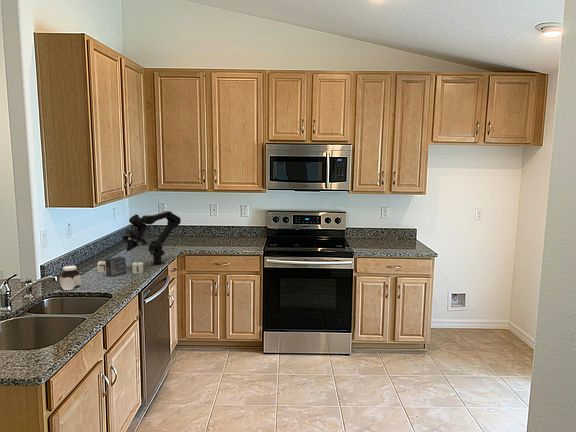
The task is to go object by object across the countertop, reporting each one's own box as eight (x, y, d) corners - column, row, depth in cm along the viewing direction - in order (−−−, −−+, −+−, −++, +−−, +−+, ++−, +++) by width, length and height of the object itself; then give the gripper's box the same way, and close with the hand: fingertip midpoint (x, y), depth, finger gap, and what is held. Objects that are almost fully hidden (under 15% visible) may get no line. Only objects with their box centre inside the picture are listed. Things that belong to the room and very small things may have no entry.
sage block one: (133, 271, 289) (133, 262, 289) (143, 271, 291) (143, 261, 290) (132, 274, 283) (132, 264, 282) (142, 273, 285) (142, 263, 284)
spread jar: (76, 284, 260) (75, 264, 259) (85, 287, 253) (84, 267, 252) (55, 288, 251) (53, 268, 250) (64, 292, 244) (62, 271, 243)
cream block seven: (99, 270, 292) (98, 261, 291) (109, 269, 293) (108, 260, 292) (97, 272, 286) (97, 263, 285) (107, 272, 287) (107, 262, 286)
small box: (121, 271, 288) (120, 255, 287) (126, 273, 284) (126, 257, 283) (105, 275, 280) (104, 258, 279) (111, 276, 276) (110, 260, 275)
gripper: (122, 223, 295) (109, 242, 287) (142, 225, 285) (128, 245, 278) (133, 233, 303) (120, 252, 295) (152, 235, 293) (139, 255, 285)
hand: (127, 251), depth 288 cm, fingers closed
